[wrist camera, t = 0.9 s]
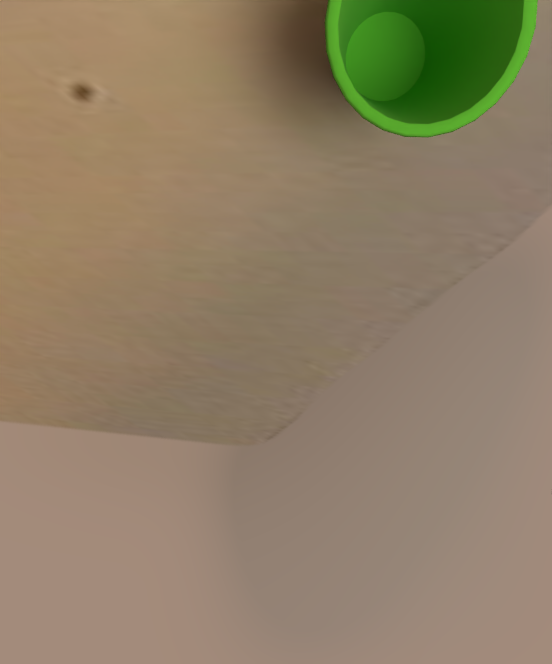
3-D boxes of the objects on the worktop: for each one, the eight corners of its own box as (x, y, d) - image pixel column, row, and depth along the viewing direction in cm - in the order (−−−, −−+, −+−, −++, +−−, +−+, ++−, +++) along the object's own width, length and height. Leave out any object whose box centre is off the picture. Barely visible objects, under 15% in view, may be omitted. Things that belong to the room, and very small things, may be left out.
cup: (483, 68, 32) (579, 36, 21) (367, 165, 34) (404, 179, 24) (401, -65, 29) (465, -171, 19) (282, 50, 31) (282, 10, 21)
